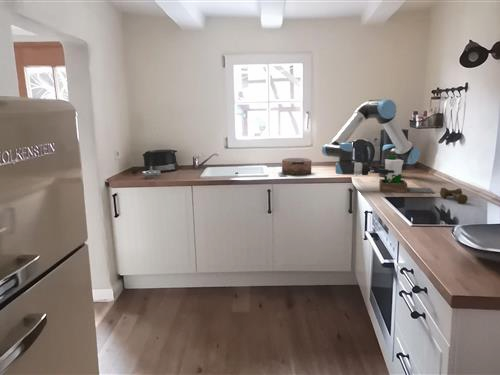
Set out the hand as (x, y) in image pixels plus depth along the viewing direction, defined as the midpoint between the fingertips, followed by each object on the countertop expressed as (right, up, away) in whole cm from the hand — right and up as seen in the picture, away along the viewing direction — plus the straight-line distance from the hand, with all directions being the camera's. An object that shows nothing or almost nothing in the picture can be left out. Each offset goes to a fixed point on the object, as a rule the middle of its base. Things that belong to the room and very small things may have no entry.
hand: (399, 170), depth 227 cm
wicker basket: (-52, 0, +69) cm, 87 cm away
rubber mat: (+12, -12, -1) cm, 17 cm away
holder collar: (-3, -12, +3) cm, 12 cm away
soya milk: (-3, -12, +3) cm, 13 cm away
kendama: (+20, -17, -24) cm, 35 cm away
